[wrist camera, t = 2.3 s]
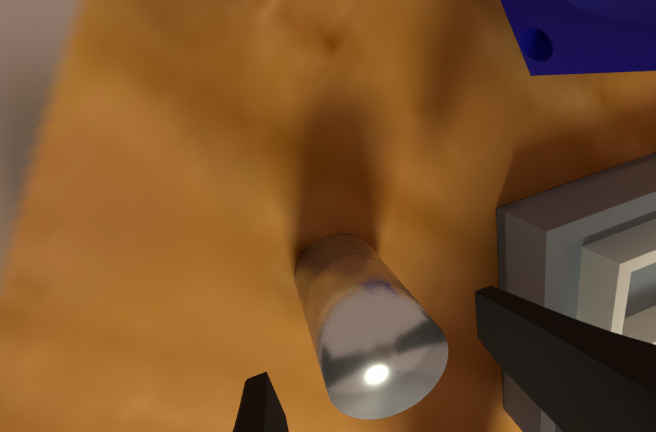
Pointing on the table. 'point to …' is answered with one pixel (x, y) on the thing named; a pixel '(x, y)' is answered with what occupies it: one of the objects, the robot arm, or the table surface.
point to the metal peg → (367, 329)
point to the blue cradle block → (584, 35)
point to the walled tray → (583, 260)
